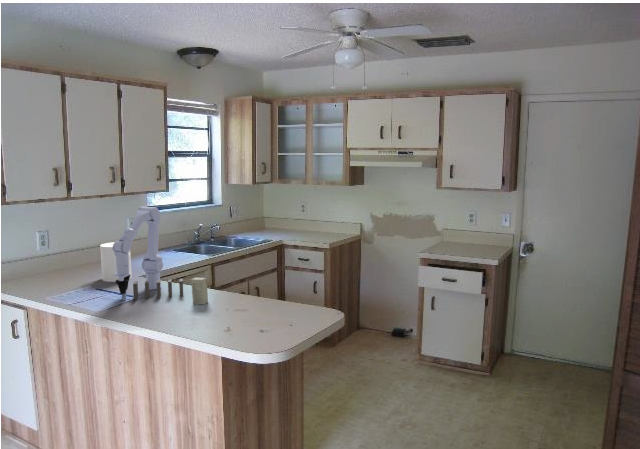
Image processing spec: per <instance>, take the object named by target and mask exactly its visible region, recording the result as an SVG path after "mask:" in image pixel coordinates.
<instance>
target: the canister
mask: <svg viewBox="0 0 640 449" xmlns="http://www.w3.org/2000/svg"><path fill="white" fill-rule="evenodd" d="M115 242H116V241H115ZM115 242H113V241H112V242H106V243H102V244H100V245H99V249H100V265H101V279H102V280H101V281H102V282H108V283H111V282H113V283H116V280H119V278H118V277H117V276H114V274H117V269H116V256H115V253H114V251H113V249H112V247H113V244H114V243H115ZM131 256H132V254H131V250H130V251H129V252H128V261H129V273H130V275H131V276H130V278H129V280H130V279H132V278H133V276H132V274H133V273H132V258H131Z"/></svg>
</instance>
